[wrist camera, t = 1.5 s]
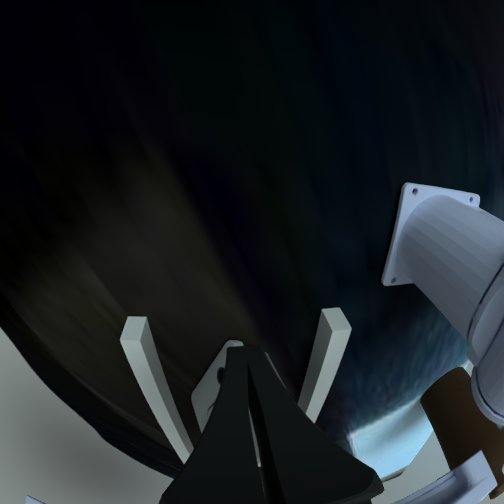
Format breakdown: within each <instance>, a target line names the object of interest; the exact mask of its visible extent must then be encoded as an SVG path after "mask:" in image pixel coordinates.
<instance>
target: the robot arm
mask: <svg viewBox="0 0 504 504" xmlns="http://www.w3.org/2000/svg"><path fill="white" fill-rule="evenodd" d="M413 189H415V191H414V193H413V194H412V191H413ZM479 202H480V197H479V195H477V194H474V193H469V192H464V191H458V190H453V189H447V188H441V187H435V186H428V185H421V184H414V183H405V184H404V185H403V186H402V190H401V196H400V202H399V207H398V212H397V217H396V222H395V227H394V232H393V236H392V240H391V245H390V249H389V253H388V257H387V261H386V264H385V268H384V272H383V275H382V279H381V282H382V284H383V285H384V286H393V285H401V284H409V283H414V284H415V285H416V286H417V287H418V288H419V289H420V290H421V291H422V292H423V293H424V294H425V295H426V296H427V297H428V298H429V299H430V300H431V302H432V303H433V304H434V305H435V306H436V307H437V308H438V309H439V310H440V311H441V313H442V314H443V315H444V316H445V317H446V318H447V319H448V320H449V322H450V323H451V324H452V325H453V326H454V327H455V329H456V330H457V331H458V332H459V333H460V334H461V336H462V337H463V338H464V339H465V341H466V342H467V343H468V344H469V350H468V352H467V355H466V356H467V357H468V358H469V360H470V361H471V362H472V364H473V365H474V367H473V371H472V375H471V389H472V393H473V397H474V400H475V402H476V404H477V406H478V407H479V409H480V411H481V412H482V413H483V414H484V415H485V416H486V417H487V418H488V419H489V420H491V421H492V422H494V423H496V424H499V425H503V426H504V222H503V221H502V220H500V219H498V218H497V217H495V216H493V215H491V214H490V213H488V212H486V211H484V210H482V209H480V208H479ZM392 279H393V280H392ZM249 410H250V414H251V419H252V423H253V427H254V432H255V436H256V440H257V445H258V450H259V457H260V464H261V471H262V479H263V486H264V492H263V487H262V483H261V478H260V473H259V468H258V463H257V457H256V452H255V446H254V441H253V435H252V429H251V422H250V416H249ZM496 486H497V482H496V480H495V477H494V475H493V473H492V471H491V469H490V467H489V465H488V463H487V461H486V459H485V457H484V455H483V453H482V451H481V450H480V451H478V452H477V453H476V454H474V455H473V456H472V457H470V458H469V459H468V460H466V461H465V462H463V463H462V464H461V465H459V466H458V467H456V468H455V469H453V470H452V471H450V472H449V473H447V474H446V475H444V476H442V477H441V478H439V479H437V480H436V481H435V482H433V483H431V484H430V485H428V486H426V487H424V488H422V489H421V490H419V491H417V492H415V493H413V494H411V495H409V496H407V497H405V498H403V499H401V500H399V501H397V502H395V503H393V504H478V503H479V502H480V501H481V500H482V499H483V498H484V497H485V496H487V494H489V493H490V492H491V491H492V490H493V489H494V488H495V487H496ZM383 491H384V487H383V484H382V482H381V480H380V478H379V476H378V475H377V473H376V471H375V470H374V469H372V468H371V467H369V466H367V465H366V464H364V463H362V462H361V461H359V460H358V459H356V458H355V457H353V456H352V455H351V454H349V453H348V452H346V451H345V450H344V449H342V448H341V447H340V446H339V445H338V444H336V443H335V442H334V441H333V440H332V439H330V438H329V437H328V436H327V435H326V434H325V433H324V432H323V431H321V430H320V429H319V428H318V427H317V426H316V425H315V424H314V423H313V422H312V420H311V419H310V418H309V417H308V416H307V415H306V414H305V413H304V412H303V410H302V409H301V408H300V407H299V406H298V404H297V403H296V402H295V400H294V399H293V398H292V397H291V395H290V394H289V392H288V391H287V390H286V388H285V387H284V385H283V384H282V382H281V381H280V379H279V377H278V376H277V374H276V373H275V371H274V369H273V367H272V365H271V364H270V362H269V360H268V358H267V356H266V354H265V351H264V349H263V346H261V345H249V346H231V347H228V348H227V349H226V363H225V368H224V373H223V377H222V381H221V385H220V388H219V392H218V395H217V398H216V400H215V403H214V406H213V409H212V411H211V414H210V416H209V419H208V421H207V423H206V426H205V428H204V430H203V432H202V434H201V436H200V438H199V440H198V442H197V444H196V446H195V447H194V449H193V451H192V453H191V454H190V456H189V458H188V459H187V461H186V462H185V464H184V465H183V467H182V469H181V470H180V472H179V473H178V475H177V476H176V477H175V479H174V480H173V481H172V483H171V484H170V485H169V487H168V488H167V489H166V490H165V492H164V493H163V494H162V497H161V499H160V501H159V504H372V503H371V498H373V497H375V496H377V495H379V494H381V493H383ZM264 494H265V496H264ZM26 504H45V503H43V502H41V501H39V500H37V499H35V498H33V497H31V496H29V495H27V496H26Z"/></svg>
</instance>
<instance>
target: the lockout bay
mask: <svg viewBox="0 0 504 504" xmlns="http://www.w3.org/2000/svg"><path fill="white" fill-rule="evenodd" d="M351 329H352V328H351V326H350V325H349V323H348V321H347V319H346V318H345V316H344V314H343V312H342V311H341V309H340V307H339V308H329V309H322V311H321V315H320V320H319V324H318V329H317V333H316V337H315V341H314V345H313V350H312V353H311V357H310V361H309V365H308V369H307V373H306V376H305V380H304V383H303V387H302V391H301V394H300V397H299V401H298V406H299V407H300V408H301V409H302V410H303V412H304V413H305V414H306V415H307V416H308V417H309V418H310V419H311V420H312V422H313V423H315V421H316V419H317V417H318V415H319V412H320V410H321V408H322V406H323V403H324V401H325V399H326V396H327V394H328V392H329V389H330V387H331V384H332V382H333V379H334V377H335V374H336V372H337V369H338V366H339V364H340V361H341V358H342V356H343V353H344V350H345V347H346V344H347V341H348V338H349V335H350V332H351ZM120 342H121V344H122V347H123V349H124V352H125V354H126V356H127V359H128V361H129V363H130V366H131V368H132V370H133V372H134V375H135V377H136V379H137V381H138V383H139V385H140V387H141V390H142V392H143V394H144V396H145V398H146V400H147V402H148V404H149V405H150V407H151V409H152V411H153V413H154V415H155V417H156V419H157V420H158V422H159V424H160V426H161V427H162V429H163V431H164V433H165V434H166V436H167V438H168V439H169V441H170V443H171V444H172V446H173V448H174V449H175V451H176V452H177V454H178V455H179V457H180V459H181V460H182V462H183V463H184V464H185V462H186V461H187V459H188V458H189V456H190V454H191V453H192V451H193V449H194V448H193V446H192V443H191V441H190V439H189V437H188V434H187V432H186V430H185V428H184V425H183V423H182V420H181V418H180V416H179V413H178V411H177V408H176V405H175V403H174V400H173V398H172V395H171V392H170V390H169V387H168V384H167V381H166V378H165V375H164V373H163V370H162V367H161V364H160V361H159V357H158V354H157V351H156V348H155V345H154V341H153V338H152V334H151V331H150V327H149V324H148V320H147V317H128V318H127V321H126V324H125V326H124V329H123V332H122V335H121V338H120ZM259 466H261V464H260V463H258V467H259Z"/></svg>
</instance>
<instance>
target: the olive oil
mask: <svg viewBox="0 0 504 504" xmlns="http://www.w3.org/2000/svg"><path fill="white" fill-rule="evenodd" d="M420 402H421V405H422V407H423V409H424V411H425V413H426V415H427V417H428V419H429V421H430V423H431V425H432V427H433V429H434V432H435V434H436V436H437V438H438V441H439V443H440V445H441V448H442V450H443V452H444V455H445V458H446V460H447V463H448V465H449V468H450V470H451V471H452V470H453V469H455V468H456V467H458V466H459V465H461V464H462V463H463V462H465V461H466V460H468V459H469V458H470V457H472V456H473V455H474V454H476V453H477V452H478V451H480V450H481V451H482V453H483V455H484V457H485V459H486V461H487V463H488V465H489V467H490V469H491V471H492V473H493V475H494V477H495V480H496V482H497V486H496V487H495V488H494V489H493V490H492V491H491V492H490V493H489V496H490V499H494V498H496V497H497V496H499V495H500V494H501V493H503V492H504V474H503V472H502V468H503V464H504V426H503V425H499V424H496V423H494V422H492V421H491V420H489V419H488V418H487V417H486V416H485V415H484V414H483V413H482V412H481V411H480V409H479V407H478V406H477V404H476V402H475V400H474V397H473V393H472V389H471V377H470V376H469V374H468V373H467V372H466V371H465V369H464V368H463V367H458V368H456V369H453V370H452V371H450V372H448V373H447V374H445V375H444V376H443V377H441V378H440V379H439V380H438V381H437V382H435V383H434V384H433V385H432V386H431V387H430V388H429V389H428V390H427V391H426V392H425V394H424V395H423V396H422V398H421V401H420Z"/></svg>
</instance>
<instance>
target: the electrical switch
mask: <svg viewBox="0 0 504 504" xmlns="http://www.w3.org/2000/svg"><path fill="white" fill-rule="evenodd" d="M231 346H243V343H242V342H240V341H238V340H229V341H227V342H226V343H225V345H224V346H223V348H222V349H221V351H220V352H219V354H218V355H217V357H216V358H215V360H214V361H213V363H212V364H211V366H210V367H209V369H208V370H207V372H206V373H205V375H204V376H203V378H202V379H201V381H200V382H199V384H198V385H197V387H196V388H195V389H194V391H193V392H192V404H193V407H194V411H195V414H196V417H197V420H198V423H199V427H200V430H201V433H202V432H203V430H204V428H205V426H206V423H207V421H208V419H209V416H210V414H211V411H212V409H213V406H214V403H215V400H216V398H217V395H218V392H219V388H220V385H221V381H222V377H223V373H224V368H225V363H226V349H227V348H228V347H231ZM265 354H266V356H267V358H268V360H269V362H270V364H271V365H272V367H273V369H274V371H275V373H276V374H277V376H278V377H279V379H280V381H281V382H282V380H281V378H280V376H279V374H278V372H277V371H276V369H275V367H274V365H273V363H272V361H271V359H270V357H269V355H268V353H266V352H265ZM282 384H283V382H282ZM283 385H284V384H283ZM284 387H285V386H284ZM285 388H286V387H285ZM286 390H287V389H286ZM249 416H250V422H251V429H252V435H253V441H254V446H255V452H256V457H257V463H260V457H259V450H258V445H257V440H256V436H255V432H254V427H253V423H252V419H251V414H250V410H249Z"/></svg>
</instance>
